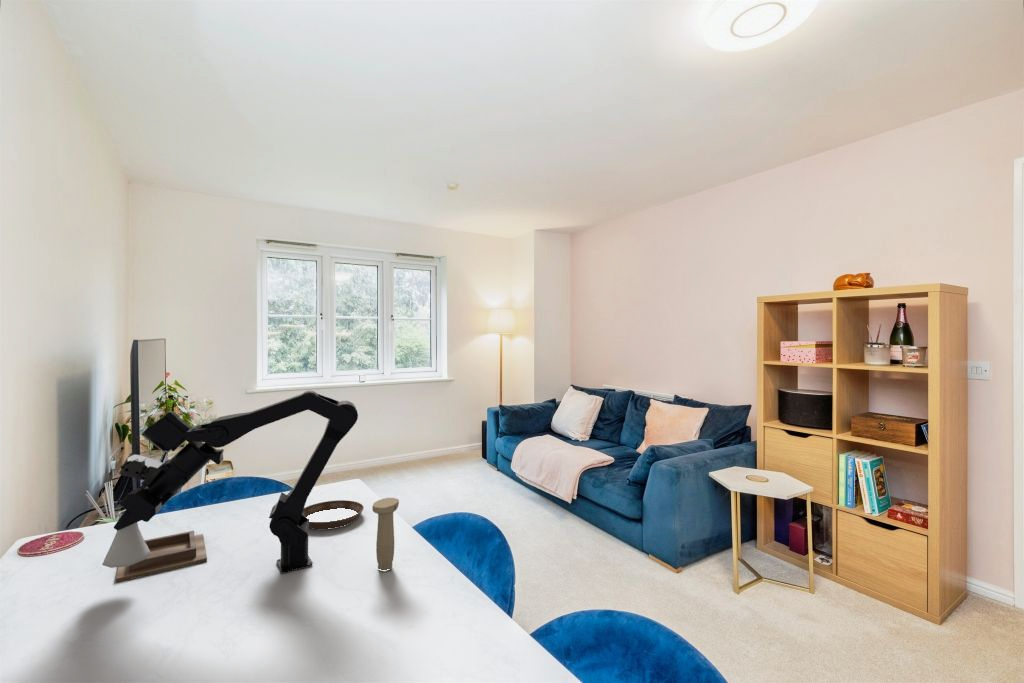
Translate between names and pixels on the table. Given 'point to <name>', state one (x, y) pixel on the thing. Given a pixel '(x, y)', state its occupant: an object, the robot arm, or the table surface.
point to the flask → (126, 547)
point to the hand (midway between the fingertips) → (119, 525)
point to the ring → (333, 505)
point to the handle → (385, 531)
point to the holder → (167, 555)
